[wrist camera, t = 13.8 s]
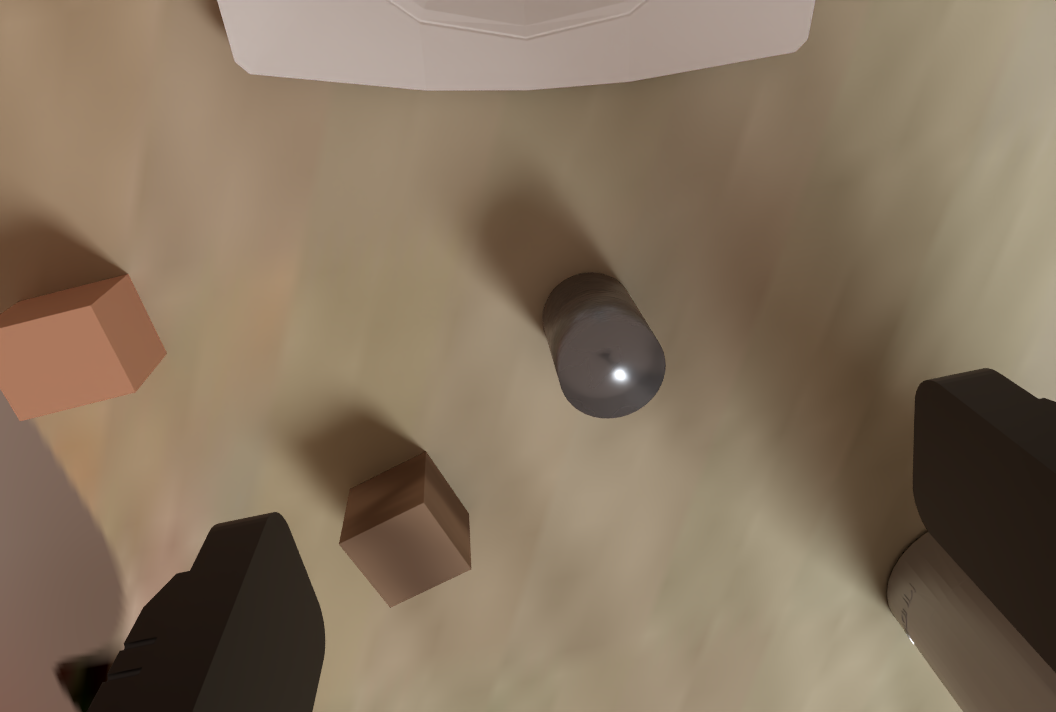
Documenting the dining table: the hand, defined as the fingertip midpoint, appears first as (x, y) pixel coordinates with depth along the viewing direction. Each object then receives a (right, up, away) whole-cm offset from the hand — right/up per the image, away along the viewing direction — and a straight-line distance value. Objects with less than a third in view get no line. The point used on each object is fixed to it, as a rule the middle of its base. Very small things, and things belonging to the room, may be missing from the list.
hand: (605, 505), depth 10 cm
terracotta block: (-21, +3, +25) cm, 32 cm away
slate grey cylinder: (+2, +4, +27) cm, 27 cm away
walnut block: (-7, -6, +30) cm, 32 cm away
